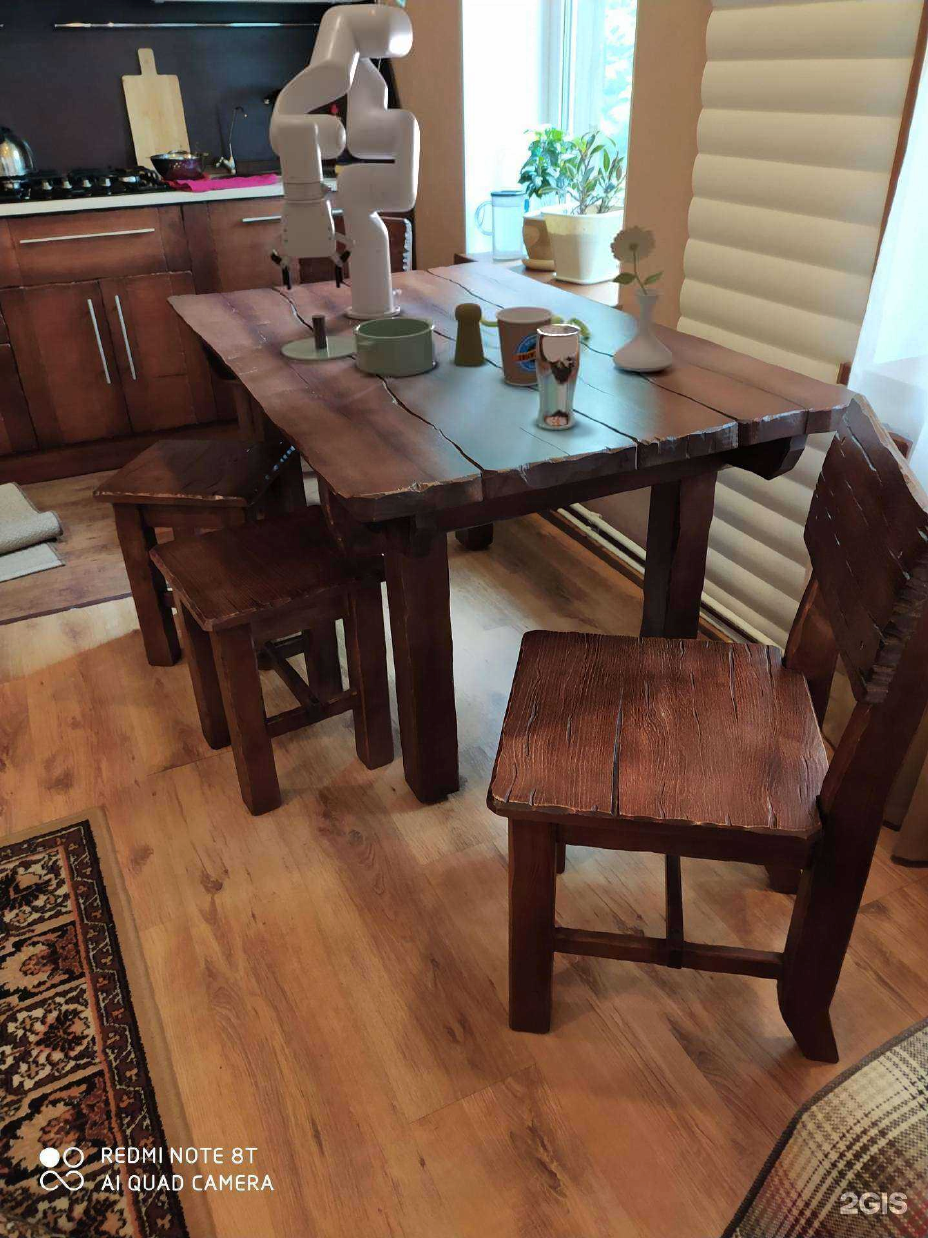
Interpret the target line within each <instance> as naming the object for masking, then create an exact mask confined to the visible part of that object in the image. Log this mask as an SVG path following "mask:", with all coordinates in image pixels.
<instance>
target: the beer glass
mask: <svg viewBox="0 0 928 1238" xmlns="http://www.w3.org/2000/svg"><path fill="white" fill-rule="evenodd" d="M580 335H581V334H580V328H579V327H578V326H576V325H573V324H572V325H567V324H564V323H563V324H554V325H546V326H542V327H540V328H538V329H537V339H536V350H535V367H536V376H537V382H538V384H537V388H538V395H539V408H538V412H537V413H538V414H537V418H536V424H537V425H538V427H539V428H541V429H544V430H549V431H562V430H563V431H564V430H567V429H571V428H572V427H573V426H574V425H575V423H576V422H575V421H576V420H575V415H574V414H575V413H574V395H575V389H576V387H577V383H578V382H577V381H578V376H579V370H580V361H581V336H580Z"/></svg>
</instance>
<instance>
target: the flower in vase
mask: <svg viewBox="0 0 928 1238" xmlns="http://www.w3.org/2000/svg"><path fill="white" fill-rule="evenodd" d="M609 248H610V249H611V253H612V254H613V255H612V256H613V258H614V260H617V261H618V262H622V261H623V263H624V264H633V273H630V272H627V271H625V272H624V271H623V272H621V273H619V274H617V275H616V276H615V277H614V278H613V279H612V281H611V283H616V284H620V285H625V286H626V285H630V284H631V283H632V282H634V280H635V279H636V281H637V282H638V284H639V285H640V287H641V289H637V290H635V291H633V294H634V296H635V297H636V300H637V301H638V302H637V303H638V309H639V324H638V330H637V332H636V334H635V335H634V336H633V337H632V338H630V339H629V340H628V341H626V342H625V343H624V344H622V345H621V346H620V347H619V348H618V349H617V350H616V351H615V352H614V353H613V355H612V358H611V360H612V362H613V364H614V365H615V366H617V367H619V368H621V369H623V370H625V371H631V372H637V373H639V372H640V373H645V372H646V373H648V372H657V371H661V370H663V369H666V368H669V367H670V366H671V365H672V364H673V363H674V361H675V360H674V359H675V358H674V355H673V354H672V352H671V351H670V350H669V349H668V348H667V347H666V345H664V344H663V343H662V342H661V341H659V339H658V338H657V337H656V336H655V335H654V333H653V328H652V325H653V315H654V311H655V306H656V304H657V301H658V300H659V298H660V297H661V295H662V294H663V291H662V290H659V289H653V288H645V287H644V286H647V285H653V284H655V283H656V282H657V281H659V280H660V279H661V277H662V276H663V274H664V269H663V270H661V271H659V272H657V273H654V274H650V275H648V276H647V277H646V278H645V279H644V281H643V283H642V282H641V280H640V278H639V276H638V274H637V267H636V262H641V261H642V260H645V259H648V258H649V257H650V254H651V253H652V252H653V250H654V249H655V248H656V238H654V233H653V230H652V229H646V227H645V225H641V226H639V225H638V224H635V225H634V226H631V225H630V226H629V225H628V226H626V227H625V229H621V230H619V232H618V233H616V236H614V238H613V241H612V242H610V245H609Z"/></svg>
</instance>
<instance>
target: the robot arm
mask: <svg viewBox="0 0 928 1238" xmlns="http://www.w3.org/2000/svg"><path fill="white" fill-rule="evenodd" d="M412 43H413V26H412V22H411V19H410V17H409V15H408V14H407V13H406V11H405V10H404V9H402V8H400V7H397V6H390V5H386V4H380V3H364V4H363V3H362V4H343V5H342V4H341V5H336V6H332V7H330V8H329V9H327V11H325V12H324V14H323V16H322V19H321V22H320V25H319V28H318V32H317V36H316V39H315V44H314V47H313V51H312V55H311V58H310V63H309V65H308V66H307V67H305V68H304V69H303V70H302V71H301V72H299V73H298V74H297V75H296V76H294V77H293V79H292V80H291V81H289V82H288V83H286V85H285V86H284V87H283V88H282V90H281V91H280V92H279V94H278V96H277V98H276V101H275V104H274V108H273V111H272V115H271V119H270V124H269V131H268V133H269V134H268V135H269V144H270V146H271V149H272V151H273V153H274V154H276V156H277V157H279V162H280V171H281V181H282V190H283V197H284V198H283V199H284V200H282V201H281V202H280V203H281V204H280V228H281V233H280V234H279V235H277V236H276V237H274V238H272V239H270V240H269V241H267V242H266V243H265V244H264V246H263V248H264V250H265V251H266V253H267V254H268V256H269V257H270V259H271V260H272V262H273V263H275V264H276V265H277V266H278V267H279V269H281V276H282V277H281V278H282V283H283V286H286V290H287V291H291V290H292V288H293V281H292V274H291V267H290V266H289V263H290V261H291V260H292V259H311V258H314V259H315V258H328V257H329V258H330V259H331V261H333V263H335V265H334V275H335V277H334V278H335V287H336V289H341V287H342V284H344V271H343V270H344V269H343V265H345V263H346V262H347V265H348V275H349V288H350V297H351V298H350V299H351V306H348V308H346V309H345V315H346V316H347V317H348V318H350V319H354V320H363V321H370V320H375V319H381V318H392V317H396V316H397V315H399V314H400V313H401V307H400V306H399V305H397V304H395V300H396V299H399V298H401V297H402V296H403V292H402V290H401V289H400V288H398V289H393V286H392V285H393V284H392V272H391V271H392V269H391V256H390V243H389V242H390V241H389V239H390V238H389V232H388V229H387V227H386V224H385V223H384V221H383V220H382V219H381V217H380V216H379V214H378V213H404V212H405V213H406V212H408V211H410V210H412V209H413V208H414V207H415V203H416V200H417V194H418V181H419V179H418V178H419V161H420V128H419V127H420V126H419V123H418V120H417V117H416V116H415V115H414V114H413V112H412V111H410V110H408V109H404V108H388V85H387V83H386V81H385V79H384V77H383V75H382V74H381V72H380V71H379V69H378V68H377V67H376V66H375V64H373V62H372V61H371V59H386V58H387V59H389V58H402V57H405V56H406V55H407V54H408V53H409V51H410V50H411V47H412V45H413V44H412ZM346 94H347V103H346V105H347V106H346V125H345V126H346V127H345V126H344V125H343V123H342V122H341V121H340V119H339V118H338V117H336V116H334V115H332V114H323V113H322V114H319V113H318V114H311V113H310V112H311V111H314V110H316V109H318V108H320V107H322V106H325V105H328V104H330V103H332V102H335V101H336V100H338V99H340V98H341V97H344V96H345V95H346ZM345 147H347V151H348V152H349V153H350V155H352V156H353V157H354V158H357V159H362V160H363V159H364V160H394V163H377V162H373V163H371V162H369V163H365V162H363V163H352V164H348V165H346V166H344V167H343V168H341V170H339V172H338V173H337V177H336V191H337V196H338V200H339V204H340V208H341V213H342V218H343V225H344V231H345V235H343V234H341V233H339V232H338V231H336V228H335V227H336V226H335V221H334V215H333V210H332V206H331V203H330V199H329V198H325V196H326V195H328V194H332V192H333V191H332V189H333V187H332V185H331V184H326V183H324V175H323V165H322V160H332V159H337V157H339V156H340V155H342V153H343V152H344V150H345ZM337 242H339V243H341V244H343V245H345V248H344V251H343V253H342V254H341V255H340V254H339V253H338V252H337V247H338V245H337ZM281 243H282V250H283V254H284V256H283V257H281V256H280V255H279V254H278V253H277V252H276V251H275V247H277V246H279V245H280V244H281Z"/></svg>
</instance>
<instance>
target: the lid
mask: <svg viewBox="0 0 928 1238" xmlns="http://www.w3.org/2000/svg"><path fill="white" fill-rule="evenodd" d="M311 322H312V323H311V324H312V331H313V337H309V338H303V339H302V338H301V339H298V340H295V341H291V342H289V343H288V344H285V345H284V346H283V347H282V348H281V354H282V356H284V357H285V358H288V359H291V360H296V361H302V362H319V361H320V362H323V361H331V360H333V361H334V360H338V359H343V358H347V357H350V356H353V355H355V346H354V338H350V337H346V336H345V337H343V336H328V334H327V333H328V332H327V325H326V324H327V323H326V317H325V315H324V314H314V315H312V316H311Z"/></svg>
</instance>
